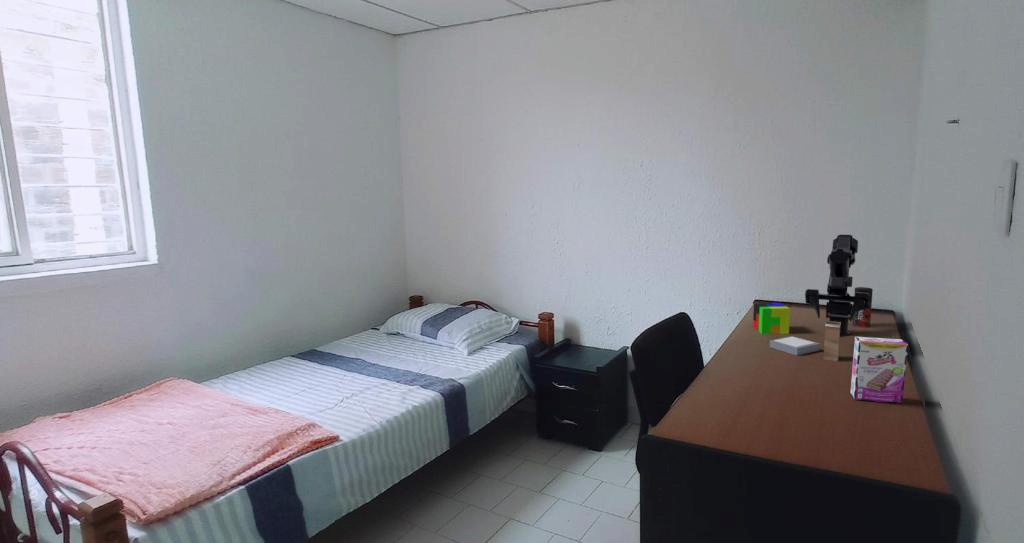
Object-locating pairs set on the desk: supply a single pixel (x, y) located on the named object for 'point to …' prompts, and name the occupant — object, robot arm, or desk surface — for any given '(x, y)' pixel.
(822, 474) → the desk surface
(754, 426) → the desk surface
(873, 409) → the desk surface
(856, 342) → the candy bar box
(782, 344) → the plinth
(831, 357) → the beige rectangular block
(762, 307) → the puzzle toy
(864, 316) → the deodorant
